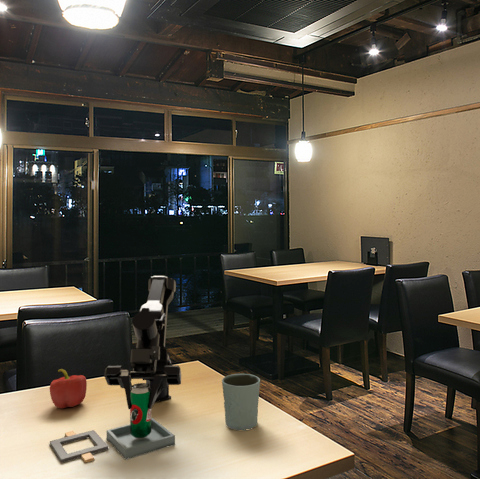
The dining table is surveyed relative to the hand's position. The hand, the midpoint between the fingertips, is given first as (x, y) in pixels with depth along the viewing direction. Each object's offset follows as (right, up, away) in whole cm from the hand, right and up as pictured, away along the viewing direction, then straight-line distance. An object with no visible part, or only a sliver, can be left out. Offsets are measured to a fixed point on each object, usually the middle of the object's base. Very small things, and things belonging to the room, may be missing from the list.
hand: (139, 408), depth 108 cm
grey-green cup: (+24, -9, +12) cm, 29 cm away
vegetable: (-27, -8, +24) cm, 37 cm away
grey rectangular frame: (-14, -9, -1) cm, 17 cm away
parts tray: (0, -9, +1) cm, 9 cm away
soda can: (0, -7, +2) cm, 7 cm away
